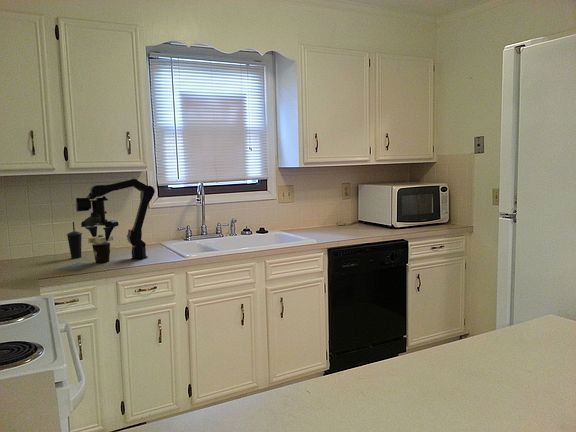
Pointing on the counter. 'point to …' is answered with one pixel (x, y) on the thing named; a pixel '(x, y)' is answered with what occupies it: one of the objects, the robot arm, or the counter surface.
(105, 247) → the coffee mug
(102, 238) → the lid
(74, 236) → the drinking cup
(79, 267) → the mat
